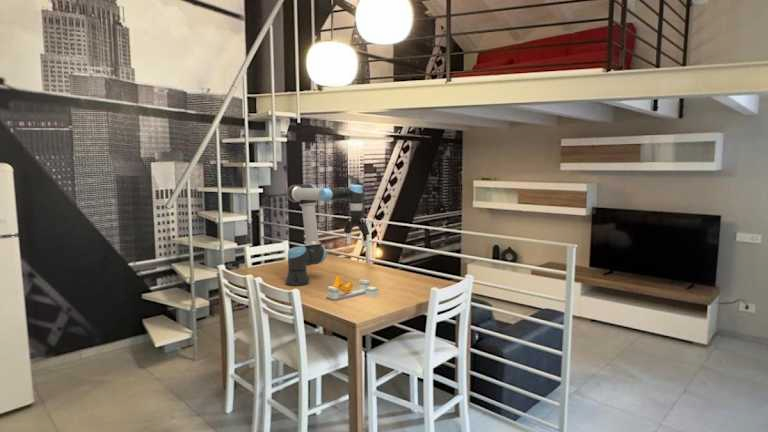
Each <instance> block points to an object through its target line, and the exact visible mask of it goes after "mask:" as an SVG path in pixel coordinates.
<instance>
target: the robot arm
mask: <svg viewBox="0 0 768 432" xmlns="http://www.w3.org/2000/svg"><path fill="white" fill-rule="evenodd" d="M285 193H286V197H287V199H288V200H289V201H290V202H293V203H299V204H298V205H299V206H300V207H301V211H302V212H301V213H302V219H303V220H302V221H303V228H304V237H305V244H304V245H303V246H302V245H300V246H294V247H291V248H289V250H288V251H287V263H288V264H287V266H288V267H287V275H286V279H285V284H286V285H288V286H295V287H296V286H305V285H309V283H310V277H309V274H308V273H307V266H308V267H309V266H313V265H319V264H321V263H323V262H325V260H326V257H327V250H326V249H325V246H323V245H322V242H320V240H319V232H318V231H319V230H318V224H317V214H316V205H317V201H322V202H329V201H330V202H331V201H349V205H350V206H349V209H350V212H349V216H350V217H347V218H346V220H347V222H346V224H345V227H344V229H343V232H344V233H345V234H346V244H347V245H351V244H352V233H351V232H352V230H353V228H354V227H355V226H357V227H358V228H359V230H360V232H361V247H367V241H368V239H367V236H369V235H370V231H369V228H368V225H367V222H366V218H362V217H363V209H364V208H363V205H364V203H363V194H364V191H363V186H362V184H350V185H349V187H317V186H316V185H315V184H311V183H305V184H304V183H303V184H302V183H301V184H293V185H290V186H289V187H287V189H286V192H285Z"/></svg>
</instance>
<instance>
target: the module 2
mask: <svg viewBox="0 0 768 432" xmlns="http://www.w3.org/2000/svg"><path fill="white" fill-rule="evenodd" d="M358 281H359V282H358V284H359V285H358V287H359V288H358V289H359V290H360V289H361V290H364V291H366V288H368V287H371V284H370V283H371V282H370V281H371V280H366V279H359V280H358Z"/></svg>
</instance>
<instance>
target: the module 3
mask: <svg viewBox="0 0 768 432" xmlns="http://www.w3.org/2000/svg"><path fill="white" fill-rule="evenodd" d="M378 293H379V289H378V287H376V286H370V287H368V288H366V294H365V297H367V298H368V297H369V298H371V299H372V298H375V297H378Z"/></svg>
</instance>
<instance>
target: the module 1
mask: <svg viewBox="0 0 768 432" xmlns="http://www.w3.org/2000/svg"><path fill="white" fill-rule="evenodd" d="M326 291H327V297H329V298H332V299H336V298H338V294H339V289H338V288H337V287H333V285H331V286H330V285H329V286H327V290H326Z"/></svg>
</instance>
